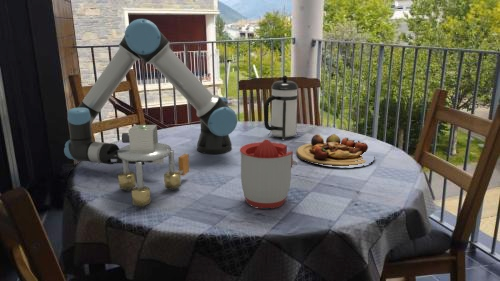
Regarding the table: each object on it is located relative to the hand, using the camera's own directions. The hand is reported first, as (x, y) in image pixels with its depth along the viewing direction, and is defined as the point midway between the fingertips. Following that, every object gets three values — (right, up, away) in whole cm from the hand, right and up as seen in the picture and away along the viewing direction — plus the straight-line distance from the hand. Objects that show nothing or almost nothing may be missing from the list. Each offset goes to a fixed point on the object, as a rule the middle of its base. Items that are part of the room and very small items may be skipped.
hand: (162, 160), depth 139 cm
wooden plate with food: (+66, 0, +29) cm, 72 cm away
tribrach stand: (-3, -11, -13) cm, 17 cm away
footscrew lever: (+6, -8, -3) cm, 11 cm away
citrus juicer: (+36, -12, -15) cm, 41 cm away
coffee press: (+46, +8, +57) cm, 73 cm away
